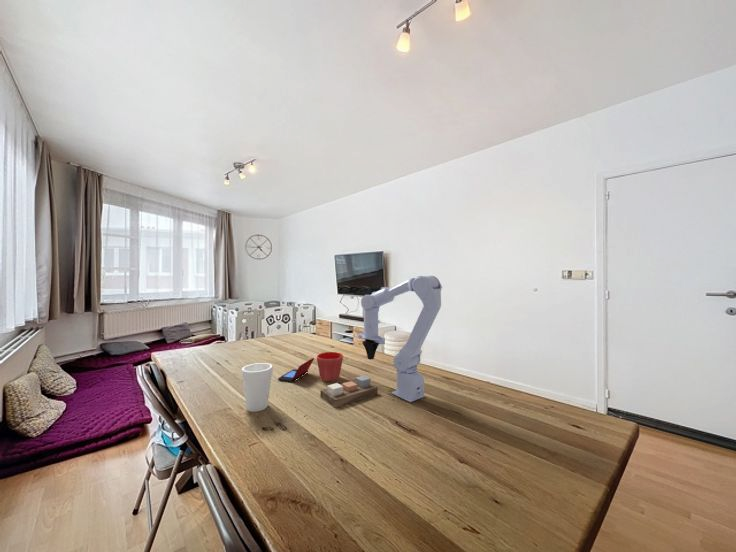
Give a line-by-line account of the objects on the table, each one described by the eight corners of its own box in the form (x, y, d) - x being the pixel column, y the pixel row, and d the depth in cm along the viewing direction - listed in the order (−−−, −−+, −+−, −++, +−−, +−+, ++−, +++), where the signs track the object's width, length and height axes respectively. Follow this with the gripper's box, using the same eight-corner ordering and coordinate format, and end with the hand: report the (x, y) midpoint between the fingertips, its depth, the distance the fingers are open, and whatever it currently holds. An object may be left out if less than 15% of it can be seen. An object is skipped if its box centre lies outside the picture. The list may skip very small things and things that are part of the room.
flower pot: (341, 383, 114) (341, 359, 114) (314, 383, 114) (314, 358, 114) (344, 374, 124) (344, 351, 124) (319, 373, 125) (319, 351, 125)
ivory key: (343, 395, 98) (343, 386, 98) (333, 398, 96) (333, 389, 96) (337, 391, 101) (337, 382, 101) (327, 394, 99) (327, 385, 99)
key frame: (377, 393, 104) (377, 386, 104) (335, 407, 93) (335, 400, 93) (361, 385, 112) (361, 378, 112) (320, 397, 101) (320, 390, 101)
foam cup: (235, 409, 91) (235, 369, 91) (258, 398, 100) (258, 361, 99) (255, 416, 87) (255, 374, 87) (278, 404, 95) (278, 365, 95)
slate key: (370, 386, 106) (370, 378, 106) (361, 389, 103) (361, 380, 103) (363, 383, 109) (363, 375, 109) (355, 385, 106) (355, 377, 106)
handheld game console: (293, 371, 128) (293, 355, 128) (315, 374, 125) (315, 357, 125) (276, 381, 116) (276, 363, 116) (299, 384, 113) (299, 365, 113)
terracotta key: (357, 392, 102) (357, 384, 102) (347, 395, 100) (347, 387, 99) (350, 389, 105) (350, 381, 105) (341, 391, 103) (341, 383, 103)
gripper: (352, 323, 117) (352, 356, 117) (374, 328, 105) (374, 365, 105) (366, 321, 121) (365, 353, 121) (388, 326, 109) (388, 361, 110)
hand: (370, 358), depth 113 cm, fingers closed
